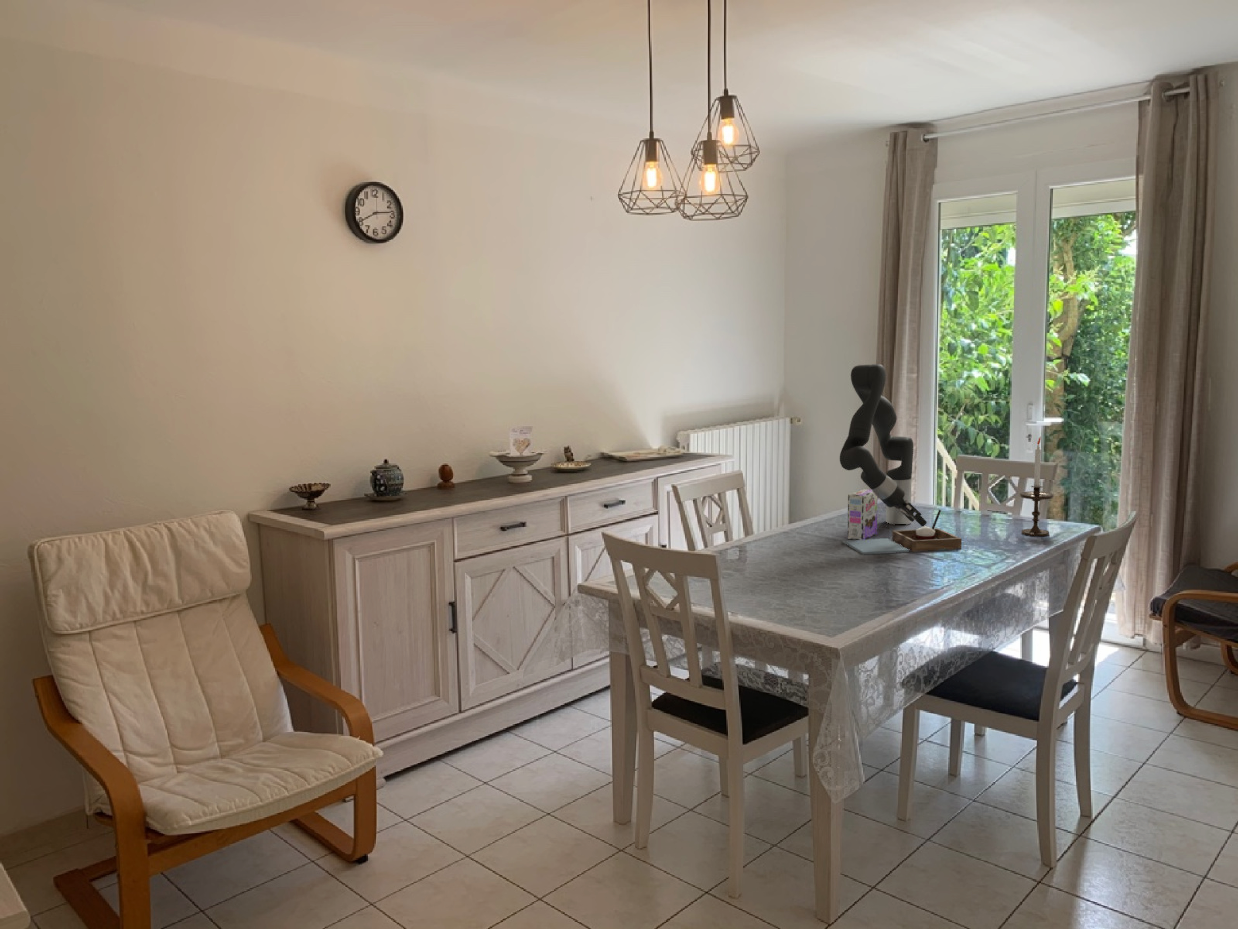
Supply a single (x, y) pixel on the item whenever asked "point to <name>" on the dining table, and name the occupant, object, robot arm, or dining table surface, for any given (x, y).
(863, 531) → the candy box
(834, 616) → the dining table surface
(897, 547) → the board
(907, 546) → the bin
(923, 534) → the cocoa
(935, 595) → the dining table surface
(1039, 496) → the candlestick
